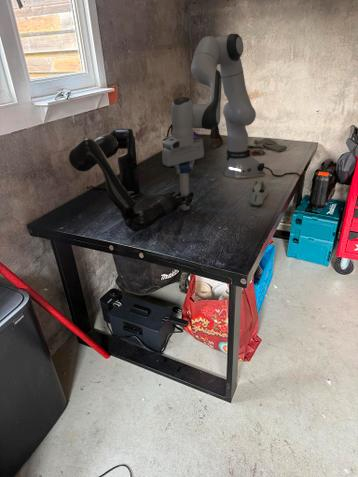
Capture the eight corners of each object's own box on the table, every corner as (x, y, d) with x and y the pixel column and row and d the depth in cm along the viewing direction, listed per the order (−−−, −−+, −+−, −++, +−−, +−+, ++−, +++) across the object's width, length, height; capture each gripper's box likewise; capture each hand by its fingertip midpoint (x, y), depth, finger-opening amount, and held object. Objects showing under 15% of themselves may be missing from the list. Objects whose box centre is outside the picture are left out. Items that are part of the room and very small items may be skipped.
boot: (223, 140, 259) (224, 113, 249) (220, 148, 239) (221, 119, 229) (212, 140, 261) (212, 113, 251) (208, 148, 241) (208, 120, 231)
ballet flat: (269, 188, 169) (270, 173, 165) (265, 208, 149) (266, 191, 145) (252, 187, 171) (253, 172, 167) (246, 206, 151) (247, 190, 147)
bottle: (190, 206, 155) (188, 167, 146) (190, 210, 152) (188, 170, 142) (181, 206, 156) (179, 167, 146) (181, 210, 152) (179, 170, 143)
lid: (177, 170, 146) (177, 166, 145) (187, 169, 147) (187, 164, 146) (181, 174, 142) (180, 169, 141) (191, 172, 143) (191, 167, 142)
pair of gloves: (252, 157, 216) (252, 149, 214) (231, 148, 237) (231, 141, 234) (288, 150, 226) (289, 142, 223) (266, 142, 247) (266, 135, 244)
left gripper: (178, 201, 135) (201, 188, 147) (152, 195, 143) (175, 182, 154) (179, 218, 139) (201, 203, 150) (153, 210, 146) (176, 197, 158)
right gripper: (197, 134, 145) (198, 164, 152) (158, 143, 135) (161, 175, 142) (207, 136, 141) (207, 168, 148) (167, 145, 131) (169, 179, 138)
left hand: (188, 193), depth 152 cm, fingers closed on bottle, 4 cm apart
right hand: (184, 171), depth 145 cm, fingers closed on lid, 5 cm apart
